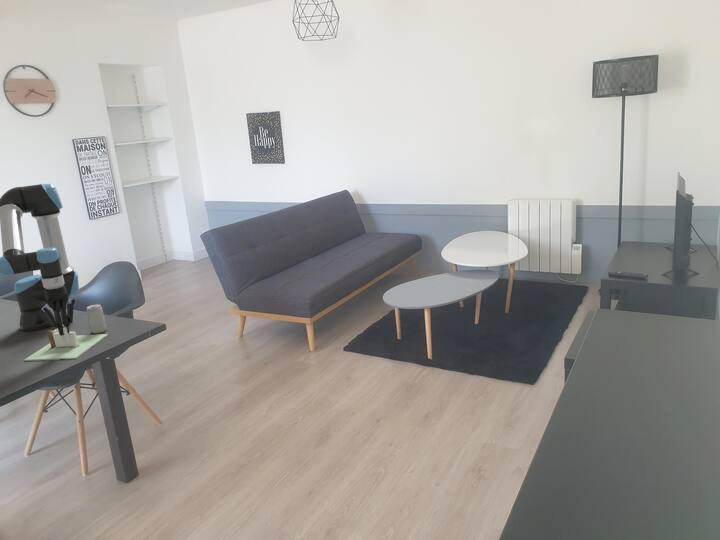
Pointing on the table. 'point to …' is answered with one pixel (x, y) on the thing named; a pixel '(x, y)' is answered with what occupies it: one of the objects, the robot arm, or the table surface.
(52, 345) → the fence fixed
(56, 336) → the panel
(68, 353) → the card
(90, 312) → the beverage can
